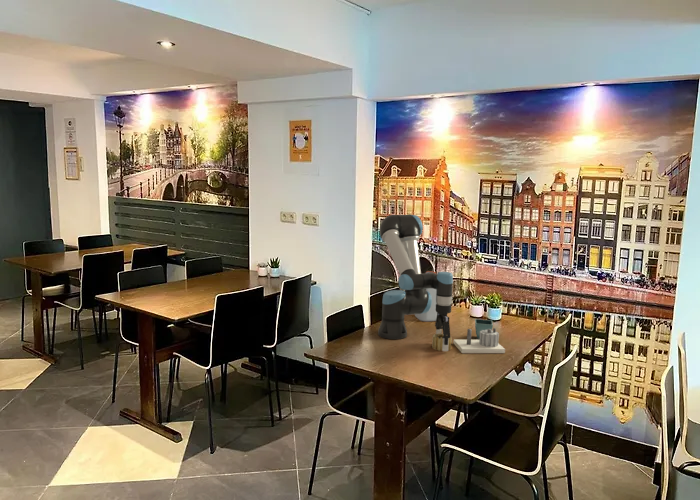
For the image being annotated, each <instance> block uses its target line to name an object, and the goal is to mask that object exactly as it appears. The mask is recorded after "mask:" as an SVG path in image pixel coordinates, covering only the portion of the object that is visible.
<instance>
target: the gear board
mask: <svg viewBox="0 0 700 500" xmlns="http://www.w3.org/2000/svg"><path fill="white" fill-rule="evenodd" d="M466 333H467V334H466V339H456V338H455V339H453V345H454V346H455V347H456V348H457V349H458V351H459V352H460V353H462V354H505V353H506V348H504V346H502V345H501V344H500V343H499V339H500V333H499V332H498V331H497V328H496V327H492V329H487V330H482V331H480V339H472V328H467V332H466Z"/></svg>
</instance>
